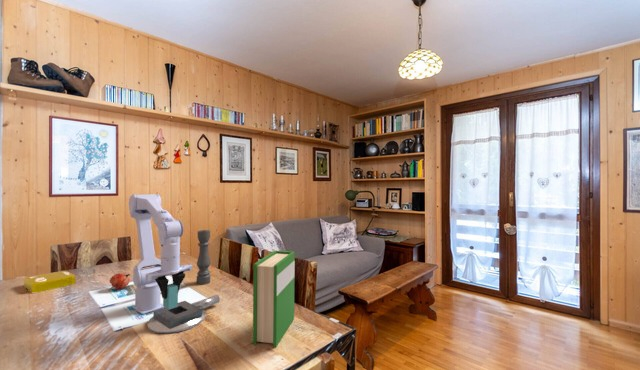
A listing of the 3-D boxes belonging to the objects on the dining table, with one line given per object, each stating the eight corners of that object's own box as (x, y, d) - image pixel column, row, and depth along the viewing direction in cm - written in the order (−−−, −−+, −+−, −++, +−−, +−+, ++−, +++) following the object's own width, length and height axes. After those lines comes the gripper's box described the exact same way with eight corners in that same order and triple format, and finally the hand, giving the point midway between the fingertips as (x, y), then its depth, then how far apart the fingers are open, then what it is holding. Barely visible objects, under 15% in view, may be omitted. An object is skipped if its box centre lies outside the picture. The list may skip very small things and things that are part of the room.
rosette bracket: (138, 322, 95) (138, 310, 95) (204, 299, 115) (205, 289, 115) (162, 340, 85) (162, 327, 85) (231, 311, 104) (231, 300, 104)
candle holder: (199, 280, 138) (199, 230, 138) (211, 280, 138) (212, 230, 138) (194, 284, 131) (195, 232, 132) (208, 284, 132) (208, 232, 132)
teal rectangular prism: (163, 306, 95) (163, 285, 95) (172, 303, 97) (172, 283, 97) (168, 309, 92) (168, 288, 92) (177, 306, 94) (177, 286, 94)
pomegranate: (108, 298, 121) (129, 283, 123) (98, 284, 121) (119, 269, 123) (118, 293, 128) (138, 279, 130) (109, 280, 129) (128, 266, 130)
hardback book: (276, 347, 81) (276, 265, 81) (252, 344, 83) (253, 264, 83) (294, 319, 99) (294, 251, 99) (274, 317, 100) (275, 250, 100)
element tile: (76, 284, 132) (77, 274, 132) (32, 294, 119) (32, 283, 119) (65, 278, 140) (65, 269, 140) (23, 287, 127) (23, 277, 127)
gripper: (152, 263, 87) (151, 306, 87) (196, 254, 98) (196, 292, 98) (143, 259, 91) (142, 300, 91) (186, 251, 102) (186, 288, 102)
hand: (170, 296), depth 95 cm, fingers closed on teal rectangular prism, 3 cm apart
